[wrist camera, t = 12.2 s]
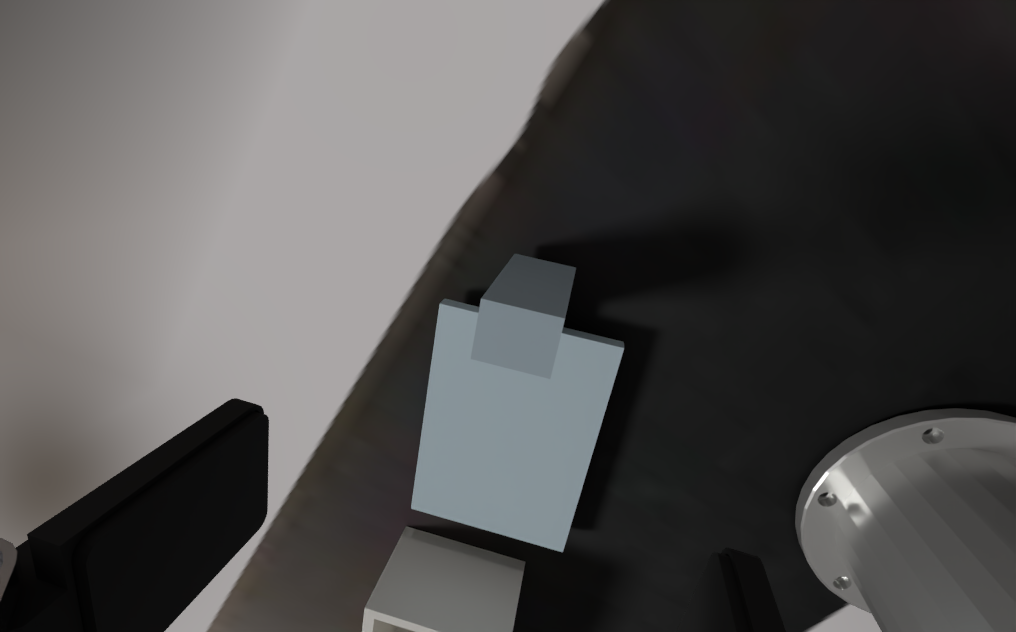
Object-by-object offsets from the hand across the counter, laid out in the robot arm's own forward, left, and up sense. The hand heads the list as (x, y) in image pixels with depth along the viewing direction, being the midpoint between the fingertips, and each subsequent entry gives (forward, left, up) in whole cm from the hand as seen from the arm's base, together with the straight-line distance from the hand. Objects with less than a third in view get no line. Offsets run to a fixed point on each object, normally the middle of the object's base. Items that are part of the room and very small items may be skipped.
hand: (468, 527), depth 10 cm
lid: (0, +6, -16) cm, 18 cm away
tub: (+2, +24, -16) cm, 29 cm away
